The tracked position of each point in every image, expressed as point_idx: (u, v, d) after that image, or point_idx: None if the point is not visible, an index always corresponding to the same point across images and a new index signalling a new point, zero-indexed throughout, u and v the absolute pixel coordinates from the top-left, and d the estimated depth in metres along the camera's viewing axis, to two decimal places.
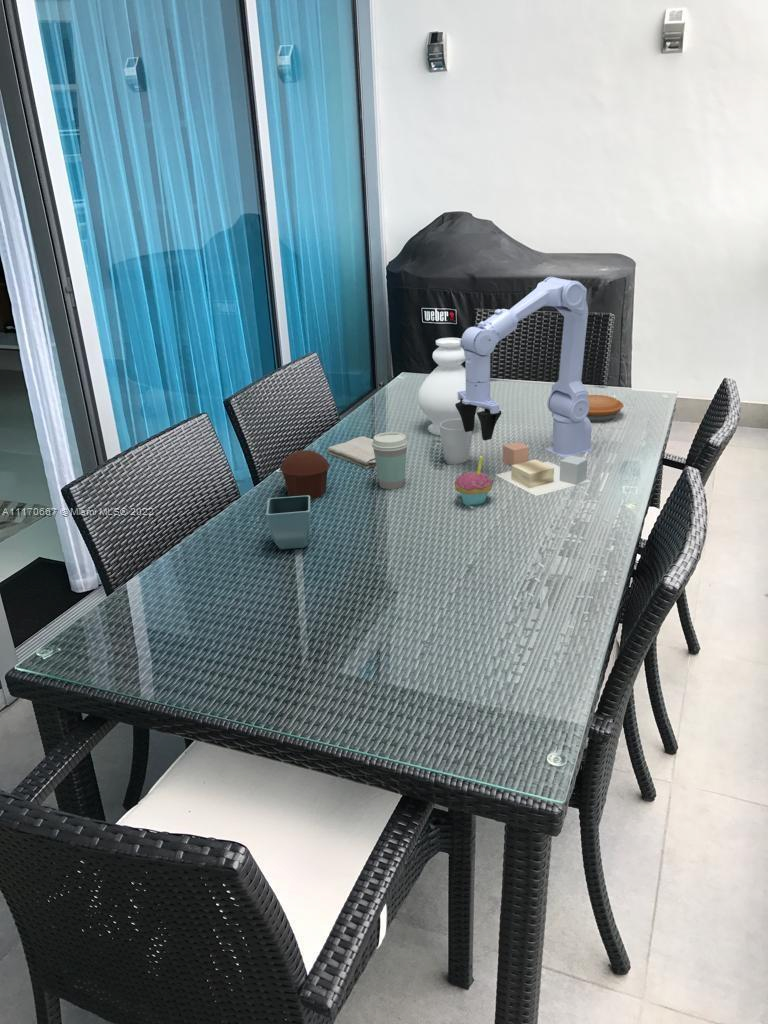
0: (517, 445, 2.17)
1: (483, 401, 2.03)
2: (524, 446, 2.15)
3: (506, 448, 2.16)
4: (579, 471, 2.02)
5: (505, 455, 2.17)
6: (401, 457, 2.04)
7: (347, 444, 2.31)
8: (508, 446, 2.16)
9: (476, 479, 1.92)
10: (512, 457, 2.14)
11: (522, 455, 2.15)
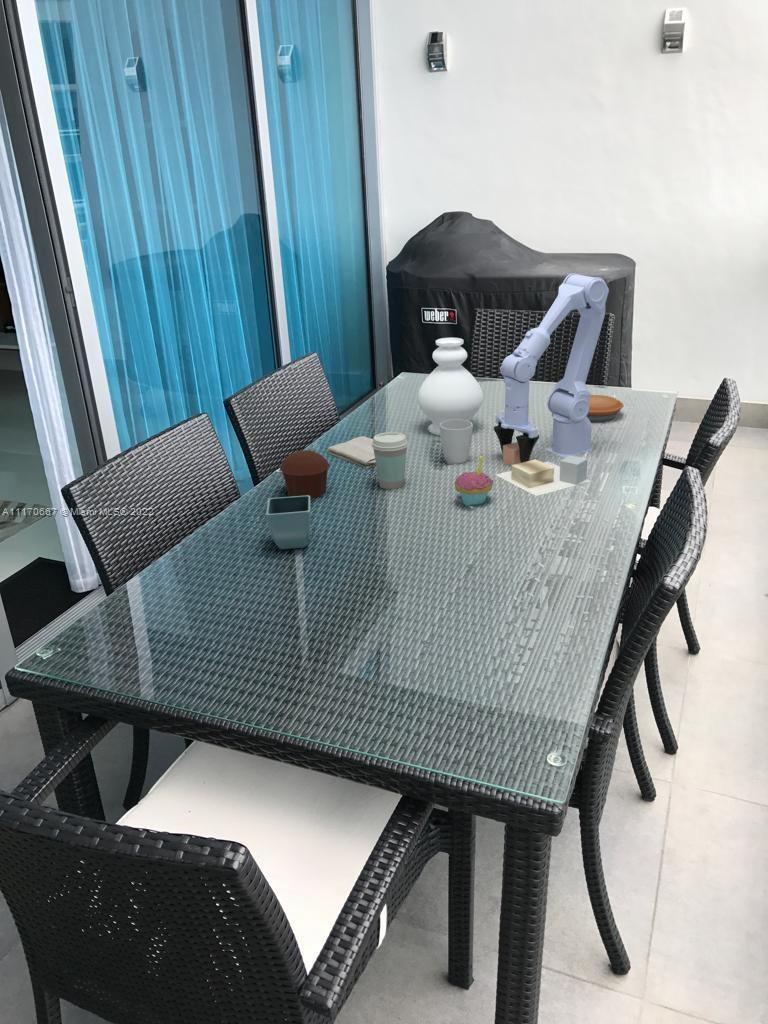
0: (517, 445, 2.17)
1: (522, 425, 2.11)
2: None
3: (506, 448, 2.16)
4: (579, 471, 2.02)
5: (505, 455, 2.17)
6: (401, 457, 2.04)
7: (347, 444, 2.31)
8: (508, 446, 2.16)
9: (476, 479, 1.92)
10: (512, 457, 2.14)
11: None
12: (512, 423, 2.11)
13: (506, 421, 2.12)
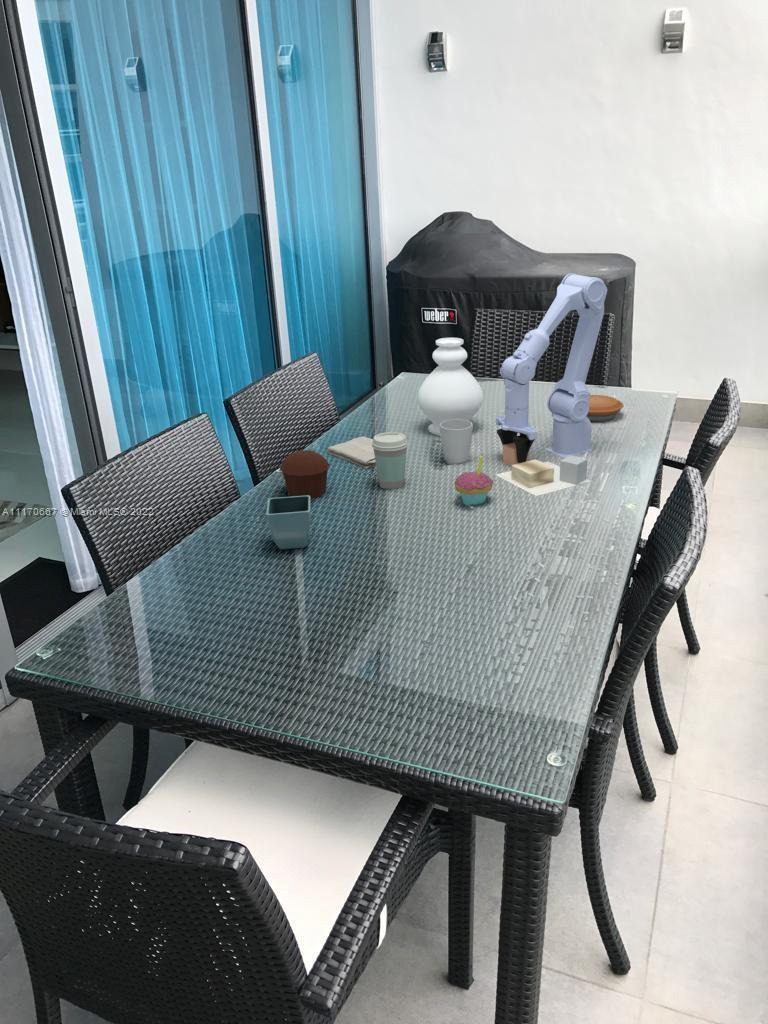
0: None
1: (522, 427, 2.11)
2: None
3: (506, 448, 2.16)
4: (579, 471, 2.02)
5: (505, 455, 2.17)
6: (401, 457, 2.04)
7: (347, 444, 2.31)
8: (508, 446, 2.16)
9: (476, 479, 1.92)
10: (512, 457, 2.14)
11: None
12: (512, 425, 2.11)
13: (506, 423, 2.12)
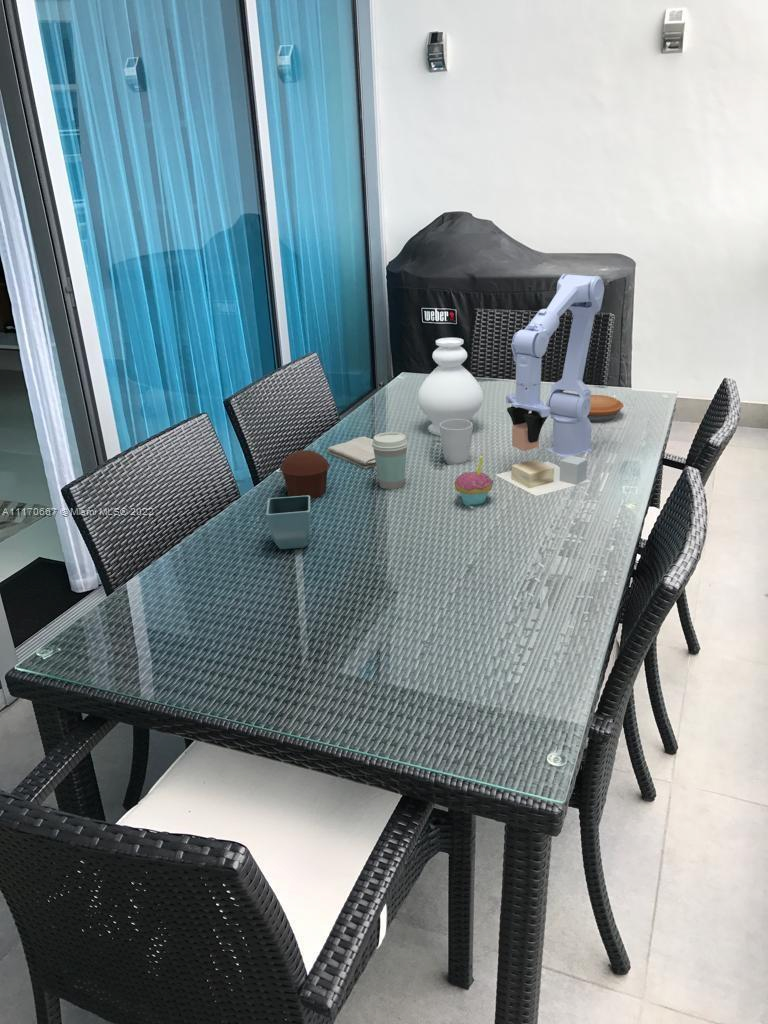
0: None
1: (533, 404, 2.00)
2: None
3: (515, 428, 2.05)
4: (579, 471, 2.02)
5: (515, 436, 2.06)
6: (401, 457, 2.04)
7: (347, 444, 2.31)
8: (518, 426, 2.05)
9: (476, 479, 1.92)
10: (522, 438, 2.04)
11: None
12: (523, 402, 2.00)
13: (517, 400, 2.02)
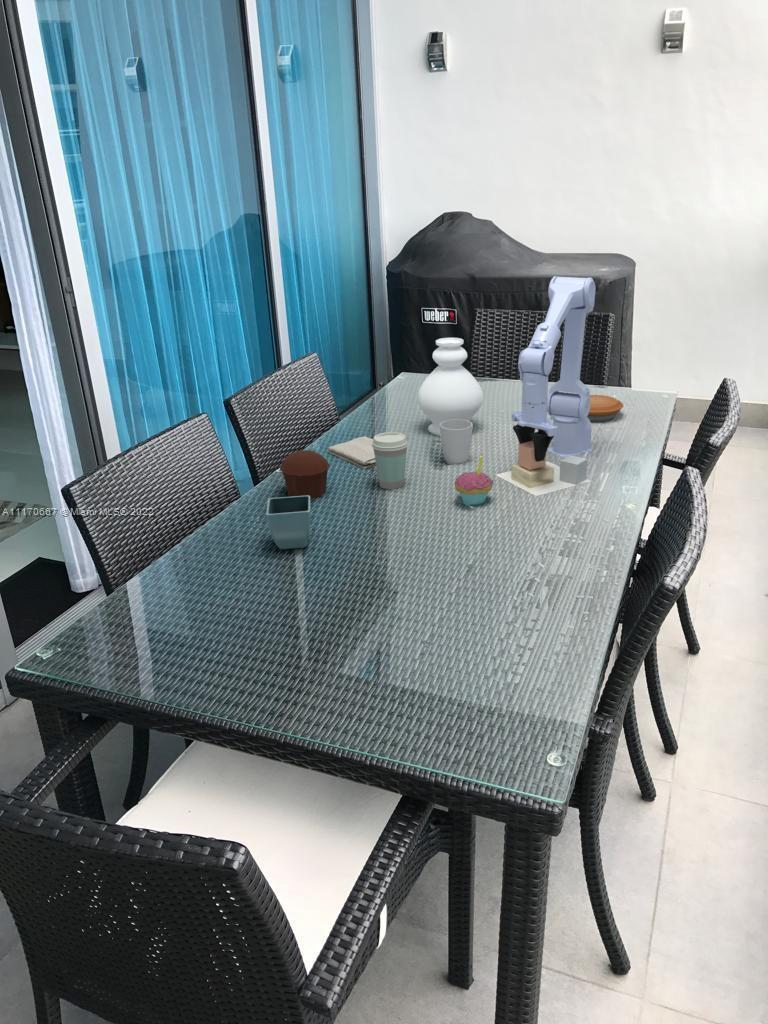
0: None
1: (540, 423, 1.98)
2: None
3: (522, 447, 2.02)
4: (579, 471, 2.02)
5: (521, 455, 2.03)
6: (401, 457, 2.04)
7: (347, 444, 2.31)
8: (524, 445, 2.02)
9: (476, 479, 1.92)
10: (528, 457, 2.01)
11: None
12: (530, 421, 1.98)
13: (523, 418, 1.99)
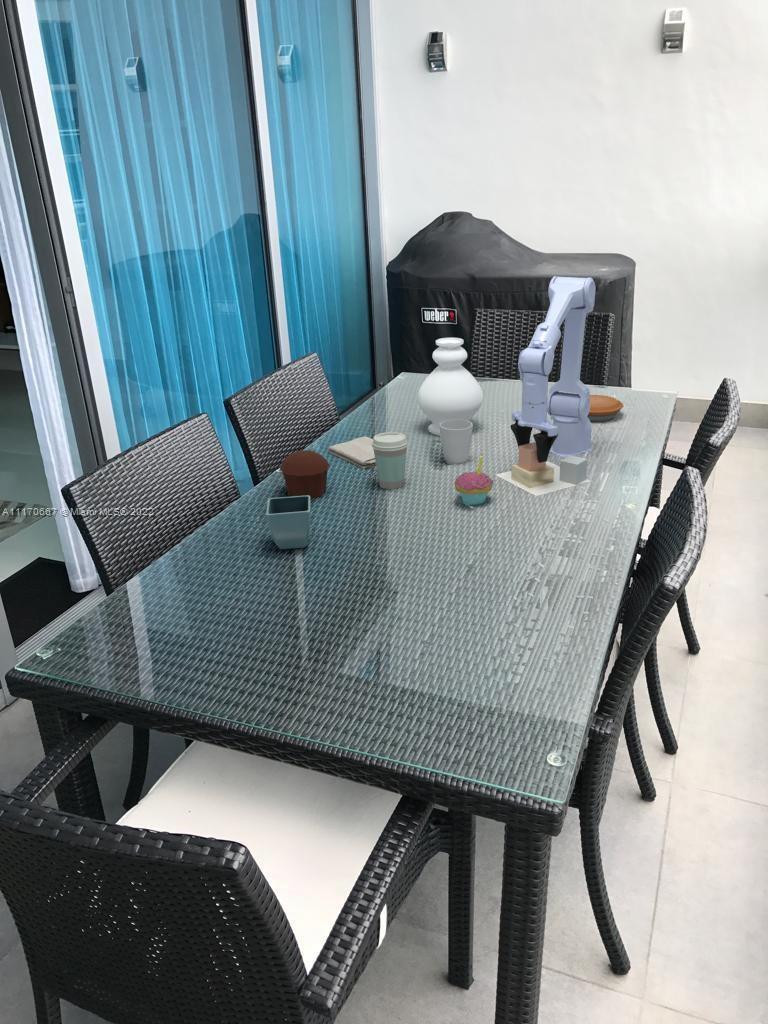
0: (533, 445, 2.03)
1: (540, 423, 1.98)
2: None
3: (522, 449, 2.02)
4: (579, 471, 2.02)
5: (521, 457, 2.03)
6: (401, 457, 2.04)
7: (348, 444, 2.31)
8: (524, 447, 2.03)
9: (476, 479, 1.92)
10: (529, 458, 2.01)
11: None
12: (530, 421, 1.98)
13: (523, 418, 1.99)
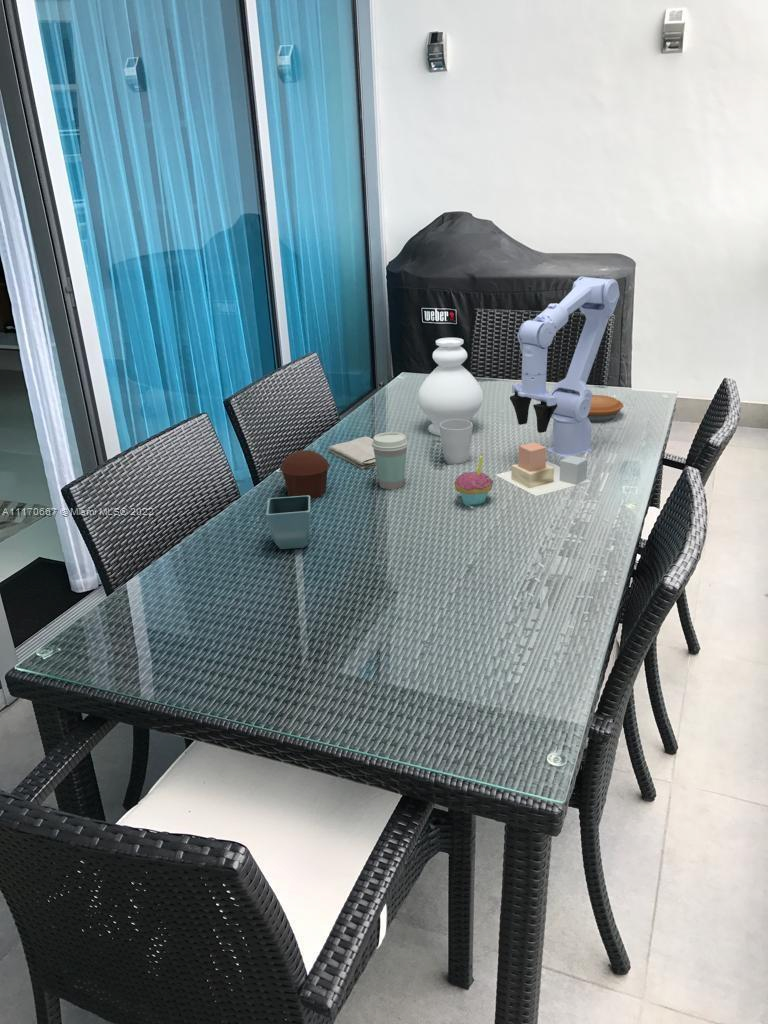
0: (533, 445, 2.03)
1: (539, 394, 2.05)
2: (541, 447, 2.02)
3: (522, 449, 2.02)
4: (579, 471, 2.02)
5: (521, 457, 2.03)
6: (401, 457, 2.04)
7: (348, 444, 2.31)
8: (524, 447, 2.03)
9: (476, 479, 1.92)
10: (529, 458, 2.01)
11: (539, 456, 2.02)
12: (529, 391, 2.05)
13: (523, 389, 2.06)
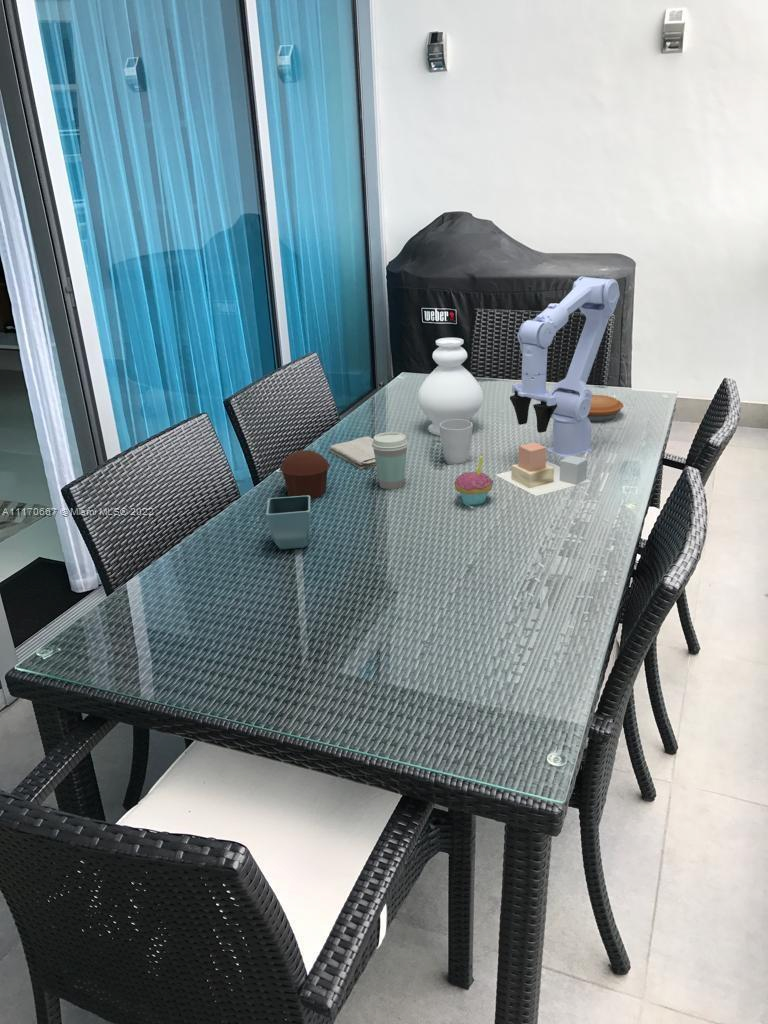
0: (533, 445, 2.03)
1: (539, 393, 2.05)
2: (541, 447, 2.02)
3: (522, 449, 2.02)
4: (579, 471, 2.02)
5: (521, 457, 2.03)
6: (401, 457, 2.04)
7: (349, 443, 2.31)
8: (524, 447, 2.03)
9: (476, 479, 1.92)
10: (529, 458, 2.01)
11: (539, 456, 2.02)
12: (529, 391, 2.05)
13: (523, 389, 2.06)
